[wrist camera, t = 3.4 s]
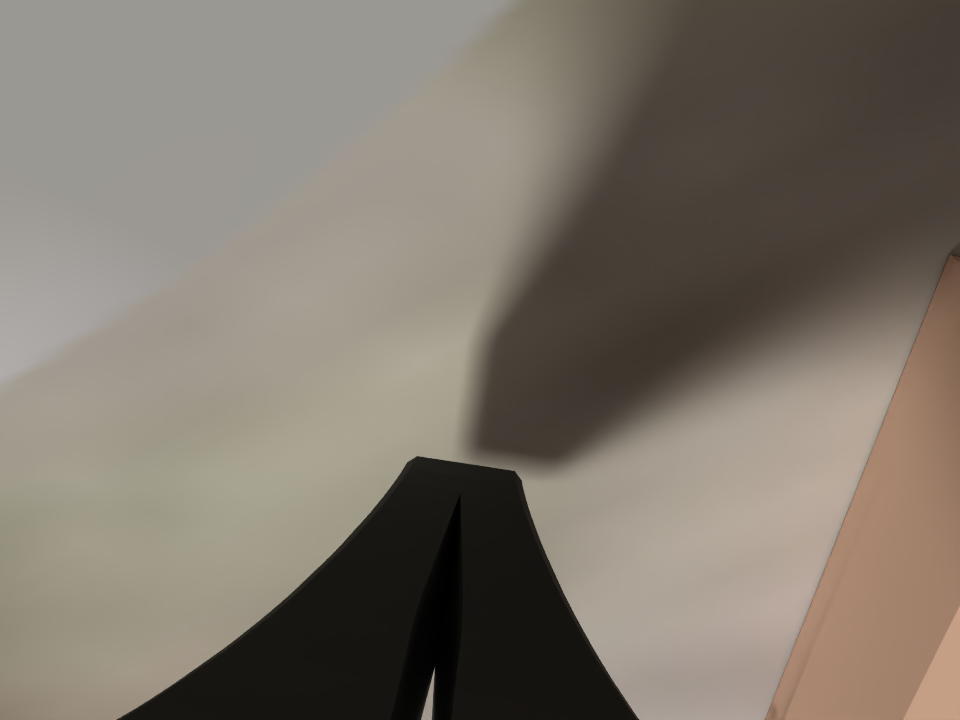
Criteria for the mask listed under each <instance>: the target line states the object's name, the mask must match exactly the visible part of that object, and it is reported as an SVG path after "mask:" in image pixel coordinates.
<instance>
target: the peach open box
mask: <svg viewBox="0 0 960 720" xmlns="http://www.w3.org/2000/svg"><path fill="white" fill-rule="evenodd" d="M765 720H960V257H958V256H951V255H949V257H948V260H947V262H946V265H945V267H944V270H943V273H942V275H941V278H940V280H939V283H938V285H937V288H936V290H935V293H934V295H933V298H932V300H931V303H930V305H929V308H928V310H927V313H926V315H925V318H924V320H923V323H922V326H921V328H920V331H919V333H918V336H917V338H916V341H915V343H914V346H913V348H912V351H911V353H910V356H909V358H908V361H907V363H906V366H905V368H904V371H903V373H902V376H901V379H900V381H899V384H898V386H897V389H896V391H895V394H894V396H893V399H892V401H891V404H890V406H889V409H888V411H887V414H886V416H885V419H884V421H883V424H882V427H881V429H880V432H879V434H878V437H877V439H876V442H875V444H874V447H873V449H872V452H871V454H870V457H869V459H868V462H867V464H866V467H865V469H864V472H863V474H862V477H861V480H860V482H859V485H858V487H857V490H856V492H855V495H854V497H853V500H852V502H851V505H850V507H849V510H848V512H847V515H846V517H845V520H844V522H843V525H842V527H841V530H840V533H839V535H838V538H837V540H836V543H835V545H834V548H833V550H832V553H831V555H830V558H829V560H828V563H827V565H826V568H825V570H824V573H823V575H822V578H821V580H820V583H819V586H818V588H817V591H816V593H815V596H814V598H813V601H812V603H811V606H810V608H809V611H808V613H807V616H806V618H805V621H804V623H803V626H802V628H801V631H800V634H799V636H798V639H797V641H796V644H795V646H794V649H793V651H792V654H791V656H790V659H789V661H788V664H787V666H786V669H785V671H784V674H783V676H782V679H781V681H780V684H779V687H778V689H777V692H776V694H775V697H774V699H773V702H772V704H771V707H770V709H769V712H768V714H767V717H766V719H765Z"/></svg>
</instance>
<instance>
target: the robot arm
mask: <svg viewBox="0 0 960 720" xmlns="http://www.w3.org/2000/svg"><path fill="white" fill-rule="evenodd" d="M434 668H435V676H434V693H433V711H432V720H639V719H638V717H637V716H636V715H635V713H634V712H633V710H632V709H631V707H630V706H629V704H628V703H627V701H626V700H625V698H624V697H623V695H622V694H621V692H620V691H619V689H618V688H617V686H616V685H615V683H614V682H613V680H612V679H611V677H610V675H609V674H608V672H607V671H606V669H605V667H604V666H603V664H602V662H601V661H600V659H599V657H598V656H597V654H596V652H595V651H594V649H593V647H592V646H591V644H590V642H589V640H588V638H587V636H586V635H585V633H584V631H583V629H582V627H581V626H580V624H579V622H578V620H577V618H576V616H575V615H574V613H573V611H572V609H571V607H570V605H569V603H568V601H567V599H566V597H565V595H564V593H563V591H562V589H561V586H560V584H559V582H558V580H557V578H556V575H555V573H554V571H553V569H552V567H551V565H550V562H549V560H548V558H547V556H546V553H545V551H544V549H543V546H542V544H541V541H540V539H539V536H538V533H537V531H536V528H535V525H534V523H533V520H532V517H531V514H530V511H529V508H528V505H527V501H526V498H525V494H524V490H523V486H522V480H521V479H520V478H519V476H518V475H517V474H516V472H515V471H511V470H504V469H497V468H491V467H484V466H478V465H471V464H465V463H458V462H451V461H445V460H438V459H432V458H425V457H419V456H417V457H415V458H414V459H412V460H411V461H409V462H407V464H406V465H405V467H404V469H403V470H402V472H401V474H400V475H399V476H398V478H397V479H396V481H395V482H394V484H393V485H392V486H391V488H390V489H389V490H388V492H387V493H386V494H385V495H384V497H383V498H382V499H381V500H380V502H379V503H378V504H377V505H376V506H375V508H374V509H373V510H372V511H371V513H370V514H369V515H368V516H367V517H366V518H365V519H364V520H363V522H362V523H361V524H360V525H359V526H358V527H357V528H356V529H355V530H354V531H353V533H352V534H351V535H350V536H349V537H348V538H347V539H346V540H345V541H344V542H343V544H342V545H341V546H340V547H339V548H338V549H337V550H336V551H335V552H334V553H333V554H332V555H331V556H330V557H329V558H328V559H327V560H326V561H325V562H324V563H323V564H322V565H321V566H320V567H319V568H318V569H316V570H315V571H314V572H313V573H312V574H311V575H310V576H309V577H308V578H307V579H306V580H305V581H304V582H303V583H302V584H301V585H300V586H299V587H298V588H297V589H296V590H295V591H293V592H292V593H291V594H290V595H289V596H288V597H287V598H286V599H284V600H283V601H282V602H281V603H280V604H279V605H278V606H276V607H275V608H274V609H273V610H272V611H271V612H269V613H268V614H267V615H266V616H265V617H263V618H262V619H261V620H260V621H259V622H257V623H256V624H255V625H254V626H252V627H251V628H250V629H249V630H247V631H246V632H245V633H243V634H242V635H241V636H240V637H238V638H237V639H236V640H235V641H233V642H232V643H231V644H229V645H228V646H227V647H225V648H224V649H223V650H221V651H220V652H219V653H217V654H216V655H214V656H213V657H211V658H210V659H209V660H207V661H206V662H204V663H203V664H202V665H200V666H199V667H197V668H196V669H194V670H193V671H192V672H190V673H189V674H187V675H186V676H185V677H183V678H182V679H180V680H179V681H178V682H176V683H175V684H173V685H172V686H170V687H169V688H167V689H166V690H164V691H163V692H161V693H159V694H158V695H156V696H155V697H153V698H152V699H150V700H149V701H147V702H146V703H144V704H142V705H141V706H139V707H138V708H136V709H134V710H133V711H131V712H129V713H127V714H126V715H124V716H122V717H121V718H119V719H117V720H421V717H422V714H423V710H424V706H425V702H426V698H427V695H428V691H429V687H430V683H431V679H432V676H433V672H434Z"/></svg>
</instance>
